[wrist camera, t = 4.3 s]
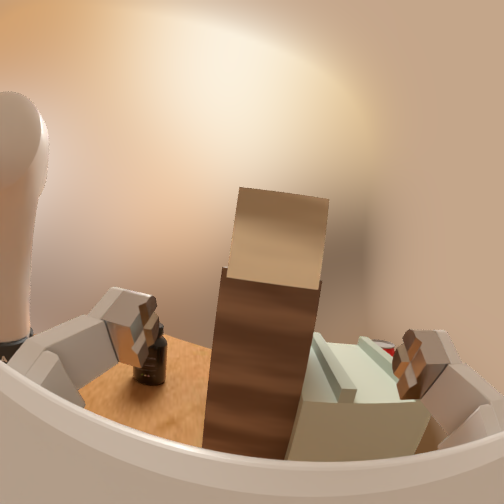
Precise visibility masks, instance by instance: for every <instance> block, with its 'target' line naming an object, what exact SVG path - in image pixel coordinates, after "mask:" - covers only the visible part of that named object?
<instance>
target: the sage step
mask: <svg viewBox="0 0 504 504" xmlns="http://www.w3.org/2000/svg"><path fill="white" fill-rule="evenodd" d="M392 360H393V357H392V356H391V355H390V354H388V353H387V352H386V351H385V350H383V349H382V348H381V347H380V346H378V345H377V344H376V343H374V342H373V341H372V340H371V339H369V338H368V337H359V340H358V345H350V344H337V343H327V342H325V340H324V339H323V337H322V336H321V334H320V333H315V332H314V333H313V338H312V344H311V349H310V354H309V359H308V364H307V369H306V374H305V378H304V383H303V387H302V392H301V396H300V401H299V405H298V409H297V413H296V417H295V421H294V425H293V429H292V433H291V437H290V441H289V444H288V448H287V451H286V455H285V459H284V460H289V461H309V462H345V461H365V460H377V459H387V458H396V457H403V456H410V455H414V453H415V451H416V449H417V447H418V445H419V442H420V440H421V438H422V436H423V433H424V431H425V429H426V426H427V424H428V421H429V419H430V417H431V413H430V412H429V411H428V410H427V408H426V407H425V406H424V404H423V403H422V402H421V401H420V400H421V399H415V400H400V397H399V393H398V389H397V385H396V384H397V382H398V380H399V379H398V378H397V377H396V376H395V375H394V374H393V369H392Z"/></svg>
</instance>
